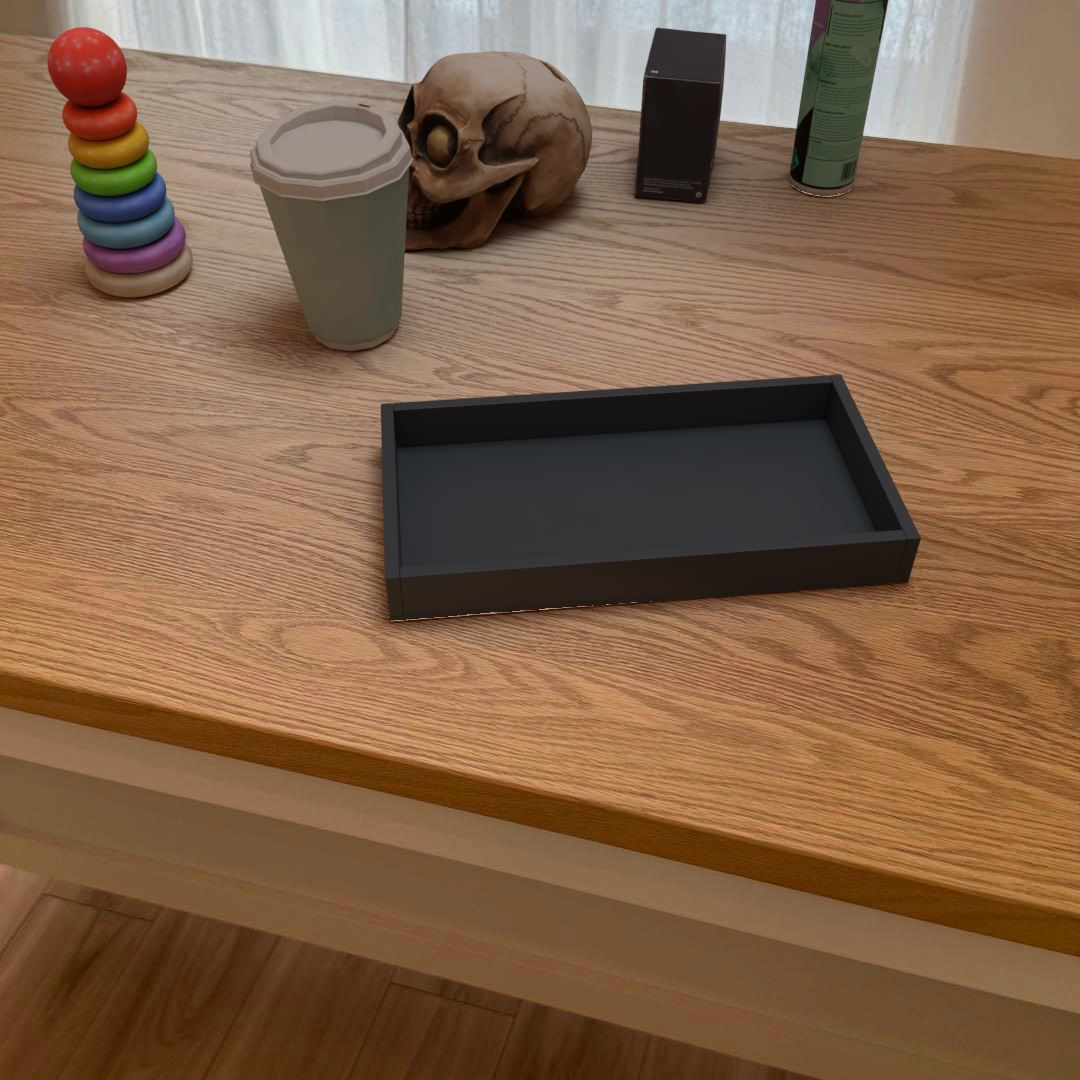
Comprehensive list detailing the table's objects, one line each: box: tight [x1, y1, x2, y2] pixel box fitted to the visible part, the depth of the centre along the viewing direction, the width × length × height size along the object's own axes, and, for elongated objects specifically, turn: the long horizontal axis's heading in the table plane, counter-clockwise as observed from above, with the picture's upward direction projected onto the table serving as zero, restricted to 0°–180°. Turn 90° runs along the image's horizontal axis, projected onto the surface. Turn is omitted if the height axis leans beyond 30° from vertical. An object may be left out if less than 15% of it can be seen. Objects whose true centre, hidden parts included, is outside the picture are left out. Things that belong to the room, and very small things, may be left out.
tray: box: [380, 373, 922, 622], centre depth 74 cm, size 30×16×4 cm, turn 96°
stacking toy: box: [46, 26, 194, 298], centre depth 89 cm, size 8×8×19 cm
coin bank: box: [396, 50, 593, 251], centre depth 99 cm, size 16×17×13 cm
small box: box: [633, 27, 727, 203], centre depth 104 cm, size 11×6×10 cm, turn 171°
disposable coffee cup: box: [249, 99, 413, 352], centre depth 85 cm, size 11×11×15 cm
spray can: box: [788, 0, 889, 196], centre depth 100 cm, size 6×6×20 cm
